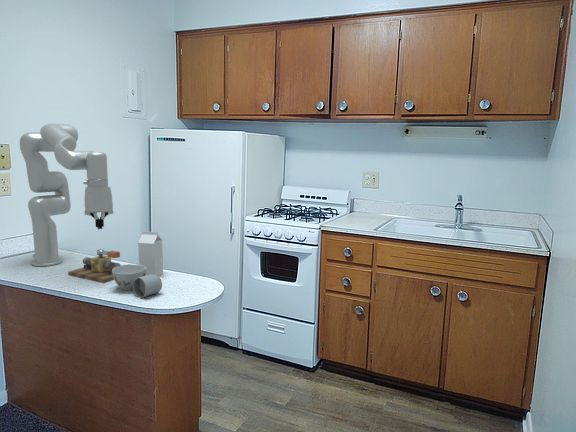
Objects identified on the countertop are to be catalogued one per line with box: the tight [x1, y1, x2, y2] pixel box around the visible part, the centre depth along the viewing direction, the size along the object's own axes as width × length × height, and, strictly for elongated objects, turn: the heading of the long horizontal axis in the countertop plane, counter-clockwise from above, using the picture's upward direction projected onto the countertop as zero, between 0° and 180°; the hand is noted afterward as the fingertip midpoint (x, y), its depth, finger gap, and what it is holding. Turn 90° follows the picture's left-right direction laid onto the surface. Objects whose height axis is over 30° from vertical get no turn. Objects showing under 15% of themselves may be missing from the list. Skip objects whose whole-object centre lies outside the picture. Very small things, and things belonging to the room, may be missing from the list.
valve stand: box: [67, 255, 121, 284], centre depth 182 cm, size 22×16×8 cm
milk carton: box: [137, 231, 164, 277], centre depth 180 cm, size 7×7×19 cm
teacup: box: [112, 264, 146, 291], centre depth 166 cm, size 15×12×8 cm
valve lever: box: [96, 248, 121, 259], centre depth 180 cm, size 12×3×2 cm, turn 62°
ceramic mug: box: [132, 275, 163, 299], centre depth 159 cm, size 11×8×8 cm
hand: (99, 228), depth 172 cm, fingers closed
